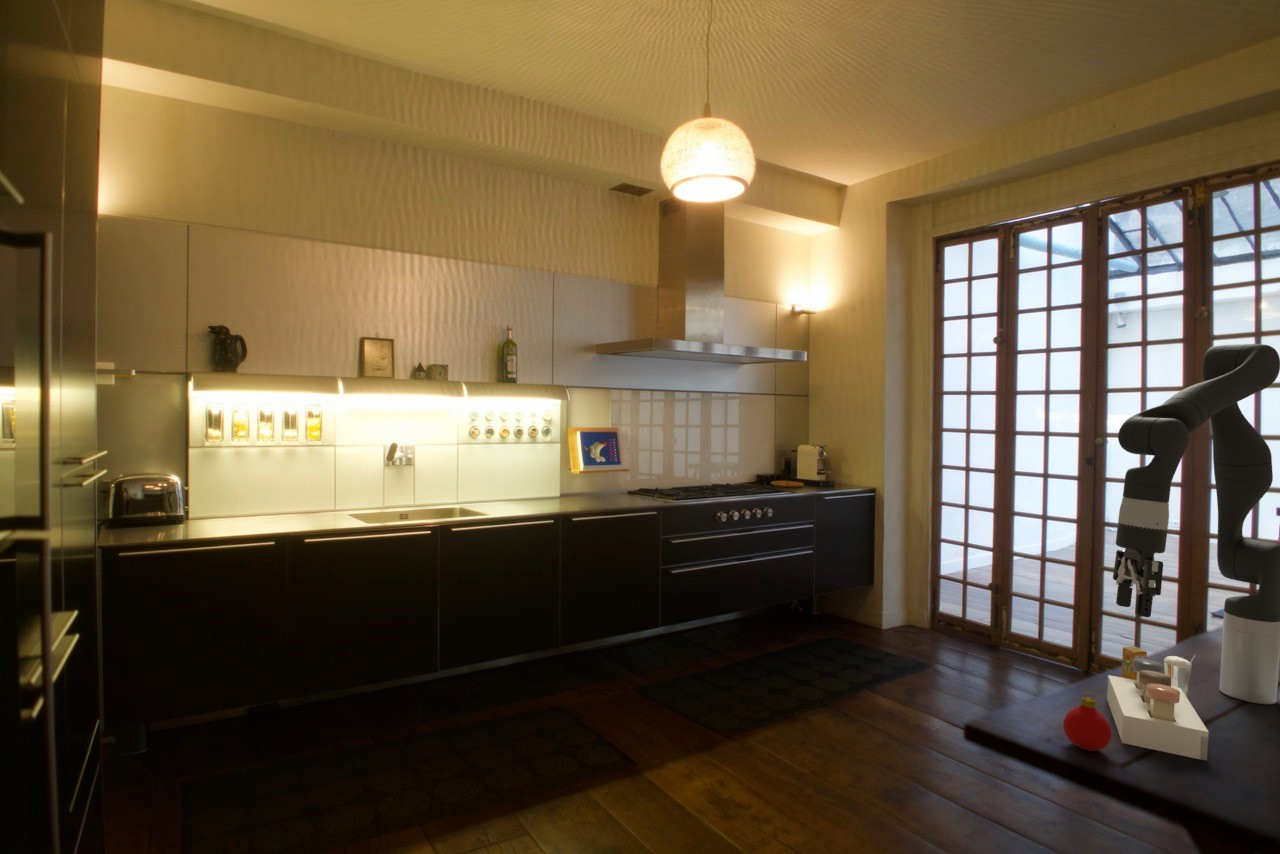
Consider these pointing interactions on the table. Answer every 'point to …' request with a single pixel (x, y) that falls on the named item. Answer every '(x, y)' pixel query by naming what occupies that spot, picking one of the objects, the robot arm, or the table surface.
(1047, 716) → the table surface
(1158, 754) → the table surface
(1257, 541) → the robot arm
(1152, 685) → the terracotta knob
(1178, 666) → the milkshake
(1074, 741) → the christmas ornament
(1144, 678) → the walnut knob
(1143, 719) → the knob console
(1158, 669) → the charcoal knob
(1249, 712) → the table surface
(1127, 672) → the supplement box
